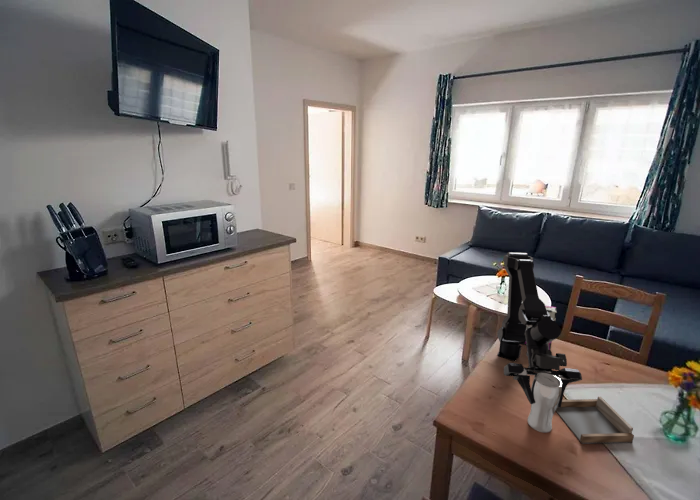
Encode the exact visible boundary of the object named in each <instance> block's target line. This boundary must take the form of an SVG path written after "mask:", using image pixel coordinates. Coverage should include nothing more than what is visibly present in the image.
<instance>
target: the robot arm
mask: <svg viewBox="0 0 700 500" xmlns="http://www.w3.org/2000/svg"><path fill="white" fill-rule="evenodd" d="M503 265H504V270H505V271H506V273H507V275H508V293H507V294H508V295H507V315H506V317H505V318H504V319H502V321H501V327H500V328H499V329H498V330H497V333H496V334H497V339H498V342H499V348H498V349H499V350H498V352H497V355H496V356H498V357H501V358H503V359H507V360H510V361H512V362H509V363H507V364H506V365H504V367H503V376H508V377H512V378H513V380H515V381H516V382H518V384H519V386H520V388H521V389H522V390H523V392H524V394H525V397H526V399H527V400H528V402H529V404H530V405H531V404H533V397H532V392H531V387H532V386H531V376H535V374H536V373H538V372H546V373H550V374H552V375H555V376H556V377H558V378H559V379H560V380H561V382H562V390H561V397H560V401H559V404H558V407H559V408H560V407H561V404H562V400H564V399H563V398H564V394H565V390H566V388H567V386H568V385H570V384H572V383H576V382H580V381H582V380H583V376H582V373H581V371H580V370H579V369H578V368H568V367H567V365H568V362H567V361H568V360H567V356H566V354H565V353H561V352H558V353H555V355H553V353H552V349H550V350H549V346H548V343H550V342H551V341H552V342H553V341H555V340H556V339H558V338H559V337H560V335H561V332H562V331H561V327H560V326H559V324H558V322H556V320H555V321H554V320H553V319H552V318H551V316H550V315H549V313H548V312H547V310H546V307H545V306H546V304H545V302H543V301H542V299H541V298H540V297H539V294H538V292H539V291H538V286H537V282H536V277H535V272H534V267H535V266H534V265H535V263H534V257H532V256H530V255H528V253H527V252H516V251H515V252H512V251H511V252H510V251H508V252H507V253H506V254H504V255H503ZM526 325H532V327H528V328H527V330H526ZM525 342H526V345H525V346H526V353H525V354H526V357H527V360H528V366H527V367H524V365H523V363H515V362H517V360H518V359H519V358H520V357H521V352H522V345H524V344H525ZM561 367H563V368H562V369H561ZM566 367H567V368H566Z"/></svg>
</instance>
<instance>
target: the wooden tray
mask: <svg viewBox="0 0 700 500" xmlns="http://www.w3.org/2000/svg"><path fill="white" fill-rule="evenodd" d="M555 413H557V414H558V416H559V417H560V419H561V420H562V421H563V422H564V424H565V425H566V426H567V427H568V428H569V430H570V431H571V432H572V434H573V435H574V436H575V437H576V439H577V440H579V442H580V444H582V445H585V444H586V445H587V444H589V445H590V444H594V445H595V444H631V443H632V444H633V440H634V439H635V438H634V437H635V435H634V433H633V430H634V427H633V426H631V424H629V422H627V421H626V420H625V418H623V416H622V415H620V414H619V413H618V411H616V409H614V408H613V407H612V406H611V405H610V404H609V403H608V402H607V401H606V400H605V399H604V398H603V397H602V396H598V397H597V399H596V398H595V399H594V398H592V399H591V398H590V399H589V398H588V399H587V398H586V399H584V398H583V399H562V404H561V407H560V408H559V407H558V406H557V409H556V411H555Z"/></svg>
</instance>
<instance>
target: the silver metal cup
mask: <svg viewBox="0 0 700 500" xmlns="http://www.w3.org/2000/svg"><path fill="white" fill-rule="evenodd" d="M530 387H531V392H532V397H533V404H530V412H529V415H528V417H527V423H528V425H529V426H530V428H532V429H533V430H535V431H537V432H539V433H544V434H545V433H550V432H551V431H552V430H553V424H552V422H553V418H554V415H555V413H556V409H557V406H558V404H559V401H560V397H561V390H562V382H561V380H560V379H559V378H558V377H556V376H555V375H552V374H550V373H546V372H538V373H536V374H535V375H533V380H532V384H531V386H530Z"/></svg>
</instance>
